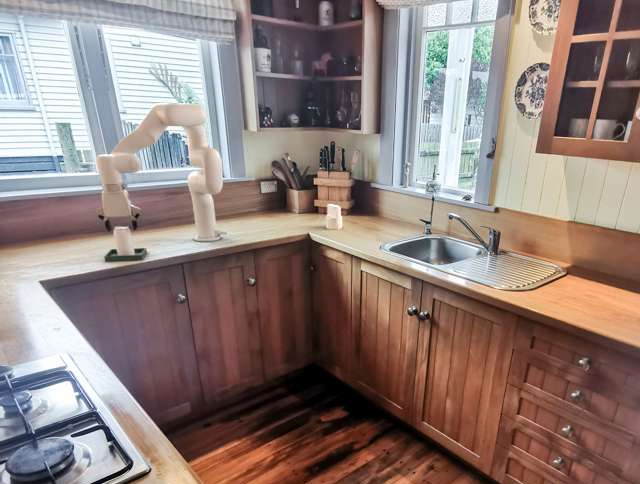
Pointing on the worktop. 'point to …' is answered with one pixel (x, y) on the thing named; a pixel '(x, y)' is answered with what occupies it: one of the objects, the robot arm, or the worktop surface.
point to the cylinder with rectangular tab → (333, 217)
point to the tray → (113, 255)
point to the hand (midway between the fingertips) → (122, 230)
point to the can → (123, 240)
